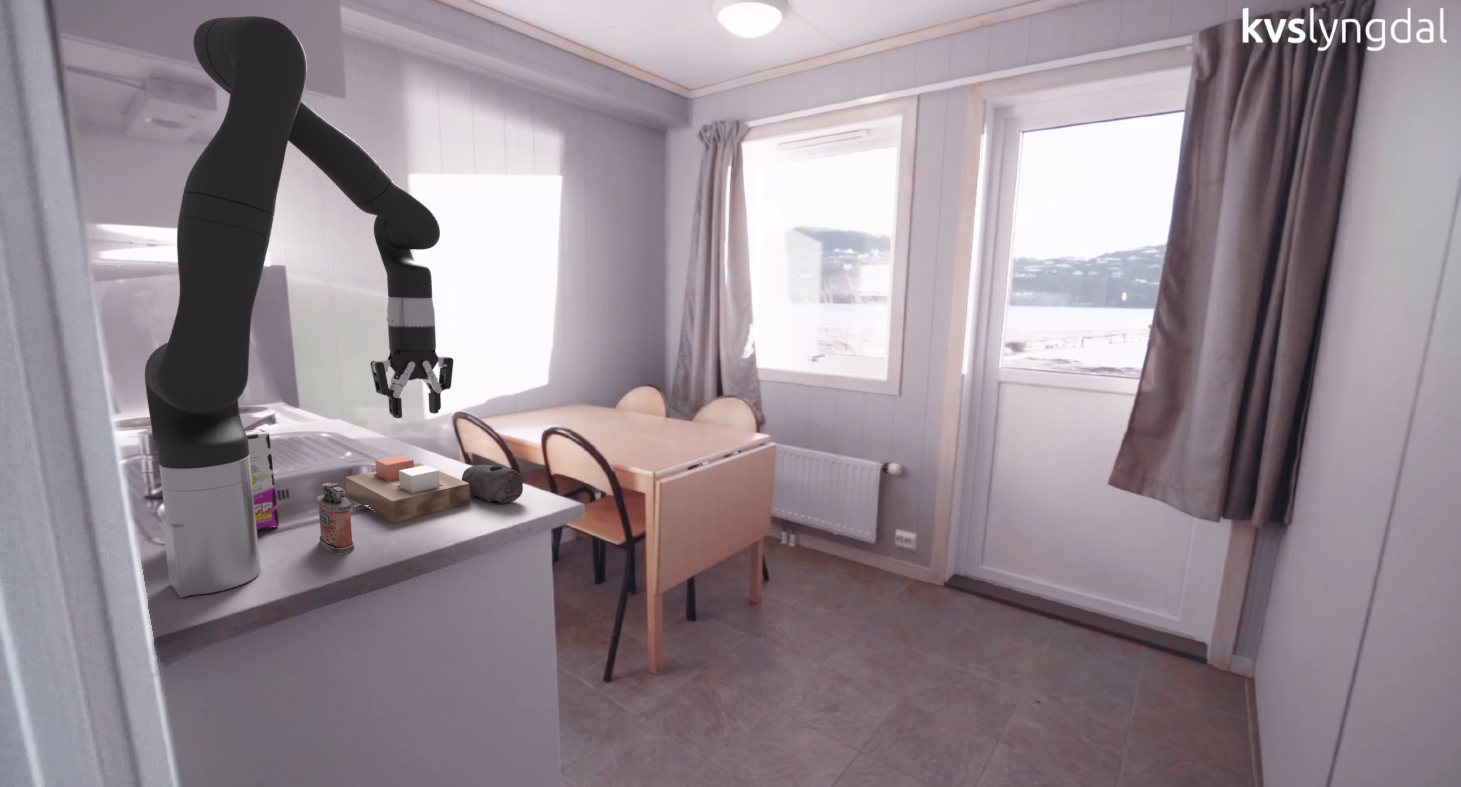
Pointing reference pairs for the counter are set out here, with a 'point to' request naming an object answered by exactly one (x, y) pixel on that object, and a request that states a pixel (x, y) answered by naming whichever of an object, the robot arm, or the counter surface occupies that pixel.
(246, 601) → the counter surface
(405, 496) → the frame
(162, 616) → the counter surface
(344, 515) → the lighter
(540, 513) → the counter surface
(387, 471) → the salmon pink block
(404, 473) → the key white
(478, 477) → the perforated stone tool
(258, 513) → the candy bar box
